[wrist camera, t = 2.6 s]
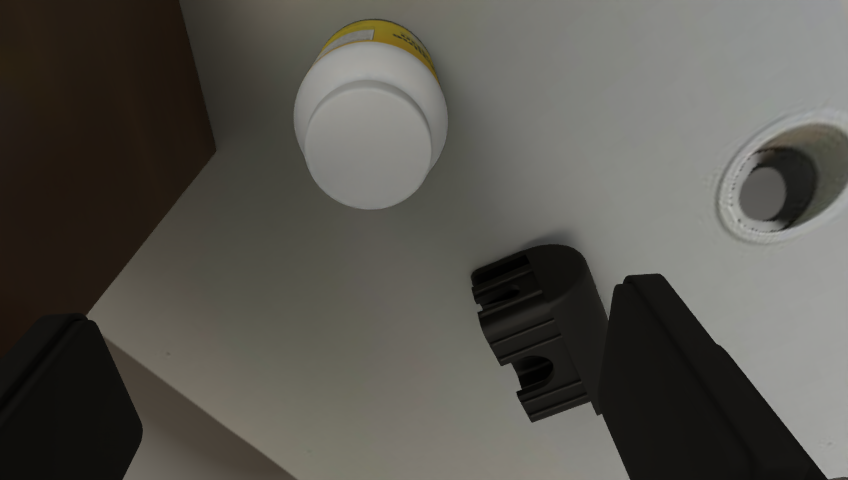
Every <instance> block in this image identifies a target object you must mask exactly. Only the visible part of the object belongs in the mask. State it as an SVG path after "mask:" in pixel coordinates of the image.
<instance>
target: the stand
mask: <svg viewBox="0 0 848 480" xmlns="http://www.w3.org/2000/svg"><path fill="white" fill-rule="evenodd" d="M216 151H217V150H216V146H215V142H214V138H213V134H212V130H211V126H210V122H209V118H208V114H207V110H206V106H205V102H204V99H203V95H202V91H201V87H200V83H199V79H198V75H197V71H196V67H195V63H194V59H193V55H192V51H191V47H190V43H189V39H188V36H187V32H186V28H185V24H184V20H183V16H182V12H181V8H180V4H179V0H0V360H1V359H2V358H3V357H4V355H5V354H6V353H7V352H8V351H9V350H10V349H11V348H12V347H13V346H14V345H15V343H16V342H17V341H18V340H19V339H20V338H21V337H22V336H23V335H24V334H25V333H26V332H27V330H28V329H29V328H30V327H31V326H32V325H33V324H34V323H35V322H36V321H37V320H38V319H39V318H40V317H42V316H44V315H49V314H64V313H82V314H83V315H85V316H86V315H87V314H88V312H89V311H90V310H91V309H92V307H93V306H94V305H95V304H96V302H97V301H98V300H99V298H100V297H101V296H102V295H103V293H104V292H105V291H106V290H107V288H108V287H109V286H110V285H111V283H112V282H113V281H114V280H115V278H116V277H117V276H118V275H119V273H120V272H121V271H122V270H123V268H124V267H125V266H126V264H127V263H128V262H129V261H130V259H131V258H132V257H133V256H134V254H135V253H136V252H137V251H138V249H139V248H140V247H141V246H142V244H143V243H144V242H145V241H146V239H147V238H148V237H149V236H150V234H151V233H152V232H153V230H154V229H155V228H156V227H157V225H158V224H159V223H160V222H161V220H162V219H163V218H164V217H165V215H166V214H167V213H168V212H169V210H170V209H171V208H172V207H173V205H174V204H175V203H176V202H177V200H178V199H179V198H180V196H181V195H182V194H183V193H184V191H185V190H186V189H187V188H188V186H189V185H190V184H191V183H192V181H193V180H194V179H195V178H196V176H197V175H198V174H199V173H200V171H201V170H202V169H203V168H204V166H205V165H206V164H207V162H208V161H209V160H210V159H211V157H212V156H213V155H214V154H215V152H216Z"/></svg>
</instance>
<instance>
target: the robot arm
mask: <svg viewBox="0 0 848 480" xmlns="http://www.w3.org/2000/svg"><path fill="white" fill-rule="evenodd" d="M598 403H599V407H600V410H601V413H602V415H603V417H604V420H605V422H606V424H607V427H608V429H609V431H610V434H611V436H612V438H613V441H614V443H615V445H616V448H617V450H618V452H619V455H620V457H621V459H622V462H623V464H624V466H625V469H626V471H627V473H628V476H629V478H630V480H848V477H840V478H833V479H827V478H826V476H825V475H824V474H823V473H822V471H821V470H820V469H819V468H818V466H817V465H816V464H815V463H814V461H813V460H812V459H811V458H810V456H809V455H808V454H807V452H806V451H805V450H804V449H803V447H802V446H801V445H800V444H799V442H798V441H797V440H796V439H795V437H794V436H793V435H792V433H791V432H790V431H789V430H788V428H787V427H786V426H785V425H784V423H783V422H782V421H781V420H780V418H779V417H778V416H777V415H776V413H775V412H774V411H773V409H772V408H771V407H770V406H769V404H768V403H767V402H766V401H765V399H764V398H763V397H762V396H761V394H760V393H759V392H758V390H757V389H756V388H755V387H754V385H753V384H752V383H751V382H750V380H749V379H748V378H747V377H746V375H745V374H744V373H743V372H742V370H741V369H740V368H739V366H738V365H737V364H736V363H735V361H734V360H733V359H732V358H731V356H730V355H729V354H728V353H727V352H726V351H725V350H724V349H723V348H722V347H721V346H720V345H718V344H716V343H715V342H714V340H713V339H712V338H711V337H710V335H709V334H708V333H707V331H706V330H705V329H704V328H703V326H702V325H701V324H700V322H699V321H698V320H697V319H696V317H695V316H694V315H693V313H692V312H691V311H690V310H689V308H688V307H687V306H686V304H685V303H684V302H683V301H682V299H681V298H680V297H679V296H678V294H677V293H676V292H675V290H674V289H673V288H672V287H671V285H670V284H669V283H668V281H667V280H666V279H665V278H664V277H663V276H662V275H661V274H643V275H628V276H627V277H625V279H624V281H623V284H617V285H616V286H615V288H614V291H613V297H612V303H611V310H610V316H609V322H608V329H607V335H606V341H605V348H604V354H603V360H602V367H601V373H600V379H599V386H598ZM142 433H143V428H142V423H141V421H140V419H139V416H138V414H137V412H136V410H135V407H134V405H133V403H132V401H131V399H130V396H129V394H128V392H127V390H126V387H125V385H124V383H123V381H122V379H121V376H120V374H119V372H118V370H117V367H116V365H115V363H114V361H113V359H112V356H111V354H110V352H109V350H108V347H107V345H106V343H105V341H104V339H103V336H102V334H101V332H100V330H99V328H98V326H97V324H96V323H95V322H94V321H93V320H88V319H87V317H86V316H85V315H83V314H82V313H64V314H49V315H44V316H42V317H40V318H39V319H38V320H37V321H36V322H35V323H34V324H33V325H32V326H31V327H30V328H29V329H28V330H27V332H26V333H25V334H24V335H23V336H22V337H21V338H20V339H19V340H18V341H17V342H16V343H15V345H14V346H13V347H12V348H11V349H10V350H9V351H8V352H7V353H6V354H5V355H4V357H3V358H2V359H1V360H0V480H122V479H123V477H124V475H125V474H126V471H127V469H128V467H129V465H130V463H131V461H132V459H133V457H134V455H135V453H136V451H137V449H138V447H139V445H140V443H141V439H142Z"/></svg>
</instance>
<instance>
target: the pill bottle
mask: <svg viewBox="0 0 848 480" xmlns="http://www.w3.org/2000/svg"><path fill="white" fill-rule="evenodd" d="M294 127H295V133H296V138H297V141H298V144H299V146H300V149H301V151H302V153H303V155H304V157H305V160H306V164H307V167H308V169H309V171H310V173H311V176H312V178H313V179H314V180H315V182H316V183H317V185H318V186H319V187H320V188H321V189H322V190H323V191H324V192H325V193H326V194H327V195H328V196H330V197H331V198H333V199H334V200H336V201H338V202H340V203H341V204H344V205H347V206H349V207H353V208H358V209H368V210H376V209H383V208H387V207H390V206H393V205H396V204H398V203H400V202H402V201H404V200H405V199H407V198H408V197H410V196H411V195H412V194H413V193H414V192H415V191H416V190H417V189H418V188H419V187H420V185H421V184H422V183H423V181H424V180H425V178H426V176H427V174H428V172H429V171H430V170H431V169H432V167H433V166H434V165H435V163H436V162H437V160H438V158H439V156H440V154H441V152H442V150H443V147H444V144H445V141H446V137H447V130H448V113H447V106H446V102H445V98H444V95H443V92H442V90H441V87H440V84H439V81H438V78H437V75H436V72H435V69H434V66H433V63H432V60H431V58H430V55H429V53H428V52H427V50H426V48H425V47H424V45H423V44H422V43H421V41H420V40H419V39H418V38H417V37H416V36H415V35H414V34H413V33H412V32H410V31H409V30H408V29H406V28H404V27H403V26H401V25H399V24H396V23H394V22H391V21H387V20H382V19H365V20H360V21H357V22H354V23H351V24H349V25H347V26H345V27H343V28H342V29H340V30H339V31H338V32H336V33H335V34H334V35H333V36H332V37H331V38H330V39H329V40H328V42H327V43H326V44H325V46H324V47H323V49H322V51H321V52H320V54H319V55H318V57H317V58H316V60H315V62H314V63H313V65H312V66H311V68H310V69H309V71H308V73H307V74H306V76H305V78H304V80H303V81H302V83H301V85H300V88H299V90H298V93H297V96H296V101H295V106H294Z"/></svg>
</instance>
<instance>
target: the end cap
mask: <svg viewBox="0 0 848 480" xmlns="http://www.w3.org/2000/svg"><path fill="white" fill-rule="evenodd" d="M471 280H472V284H473V286H474V287H472V292H473V296H474V300H475V302H476V304H479V303H480V305H481V306H482V308H483V310H482V311H480V312H478V317H479V321H480V325H481V328H482V331H483V333H484V336H485V338H486V340H487V341H488V343H489V345H490V347H491V349H492V351H493V352H494V354H495V356H496V358H497V360H498V362H499V363H500V365H501V366H503V365H506V364H509V363H511V364H512V365H513V367H514V369H515V371H516V373H517V375H518V378H519V382H520V385H521V388H522V390H520V391H517V392H516V393H517V396H518V399H519V400H520V402H521V404H522V406H523V408H524V410H525V411H526V413H527V415H528V417H529V419H530V421H531V422H532V423H533V422H535V421H538V420H541V419H544V418H546V417H549V416H552V415H555V414H557V413H560V412H563V411H566V410H568V409H571V408H574V407H576V406H579V405H582V404H585V403H587V402H590V401H591V403H592V405H593V408H594V410H595V412H596V414H597V416H598V415H600V414H602V413H601V410H600V407H599V403H598V386H599V379H600V373H601V367H602V360H603V354H604V348H605V341H606V335H607V329H608V322H609V321H608V318H607V315H606V313H605V310H604V307H603V305H602V302H601V299H600V297H599V294H598V291H597V289H596V286H595V283H594V281H593V278H592V275H591V273H590V270H589V267H588V265H587V262H586V260H585V258H584V257H583V255H582V254H581V253H580V252H578V251H577V250H575V249H574V248H571V247H569V246H565V245H559V244H548V245H540V246H536V247H532V248H530V249H527V250H524V251H521V252H518V253H516V254H514V255H511V256H509V257H506V258H504V259H502V260H499V261H497V262H495V263H492V264H490V265H488V266H485V267H483V268H480V269H478V270H476V271H475V272H473V274H472V276H471Z"/></svg>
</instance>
